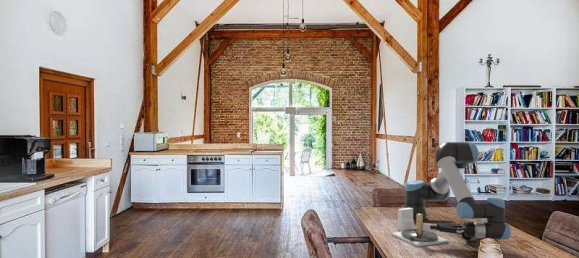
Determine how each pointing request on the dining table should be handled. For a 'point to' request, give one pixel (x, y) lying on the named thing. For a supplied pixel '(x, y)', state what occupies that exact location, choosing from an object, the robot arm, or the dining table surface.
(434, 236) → the cam dial
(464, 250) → the dining table surface
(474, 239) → the thermos bottle
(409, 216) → the cylinder with rectangular tab
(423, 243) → the base plate
